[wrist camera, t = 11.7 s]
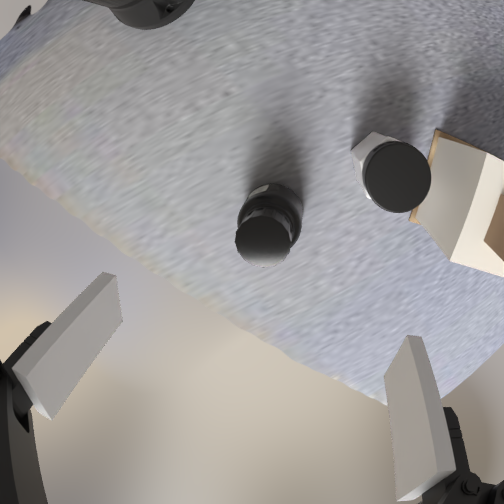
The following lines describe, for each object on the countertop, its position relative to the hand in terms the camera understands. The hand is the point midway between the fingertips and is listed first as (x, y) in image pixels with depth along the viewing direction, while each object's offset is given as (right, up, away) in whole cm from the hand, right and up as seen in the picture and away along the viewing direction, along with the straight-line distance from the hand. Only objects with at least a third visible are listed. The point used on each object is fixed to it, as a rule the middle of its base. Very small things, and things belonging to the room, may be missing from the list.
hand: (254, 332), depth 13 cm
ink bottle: (+3, +10, +35) cm, 37 cm away
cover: (+33, +13, +27) cm, 44 cm away
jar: (+18, +17, +29) cm, 38 cm away
